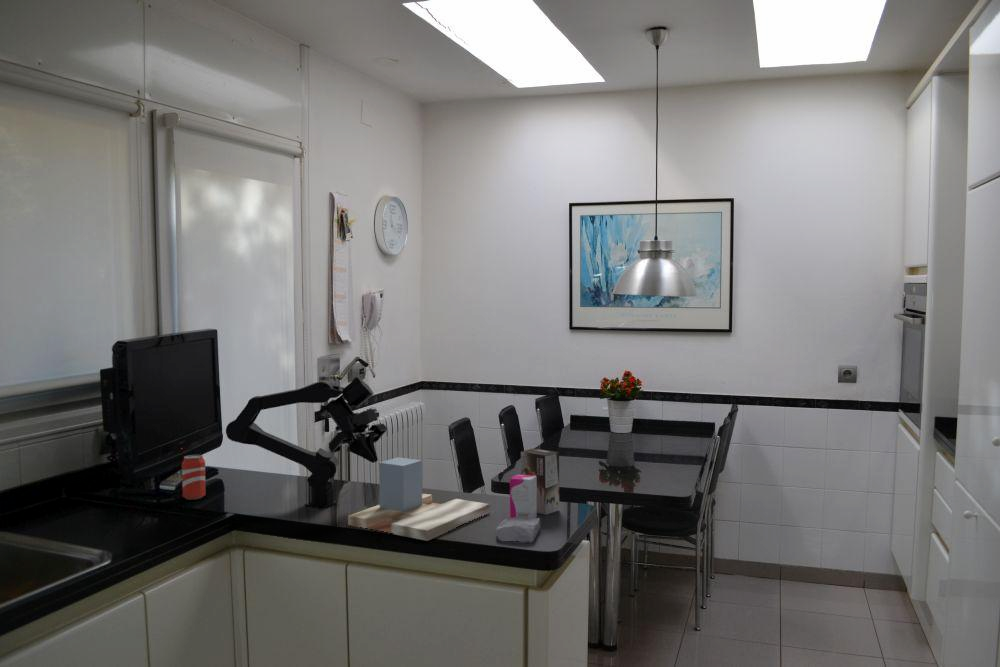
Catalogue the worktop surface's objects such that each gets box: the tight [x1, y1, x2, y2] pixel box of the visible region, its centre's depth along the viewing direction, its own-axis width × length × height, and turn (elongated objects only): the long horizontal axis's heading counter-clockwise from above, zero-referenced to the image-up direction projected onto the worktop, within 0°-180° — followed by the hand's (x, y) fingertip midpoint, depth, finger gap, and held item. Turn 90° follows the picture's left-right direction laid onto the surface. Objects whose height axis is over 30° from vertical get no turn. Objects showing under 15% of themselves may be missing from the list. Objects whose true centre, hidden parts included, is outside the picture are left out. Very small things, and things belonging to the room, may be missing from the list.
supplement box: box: [509, 474, 538, 518], centre depth 208 cm, size 6×6×12 cm
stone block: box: [495, 516, 541, 544], centre depth 196 cm, size 12×5×10 cm
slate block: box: [378, 456, 423, 512], centre depth 212 cm, size 8×8×12 cm
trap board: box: [347, 492, 491, 542], centre depth 209 cm, size 25×28×2 cm
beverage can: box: [181, 454, 206, 501], centre depth 231 cm, size 6×6×12 cm
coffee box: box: [520, 448, 560, 515], centre depth 218 cm, size 9×6×16 cm
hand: (375, 461), depth 216 cm, fingers closed
